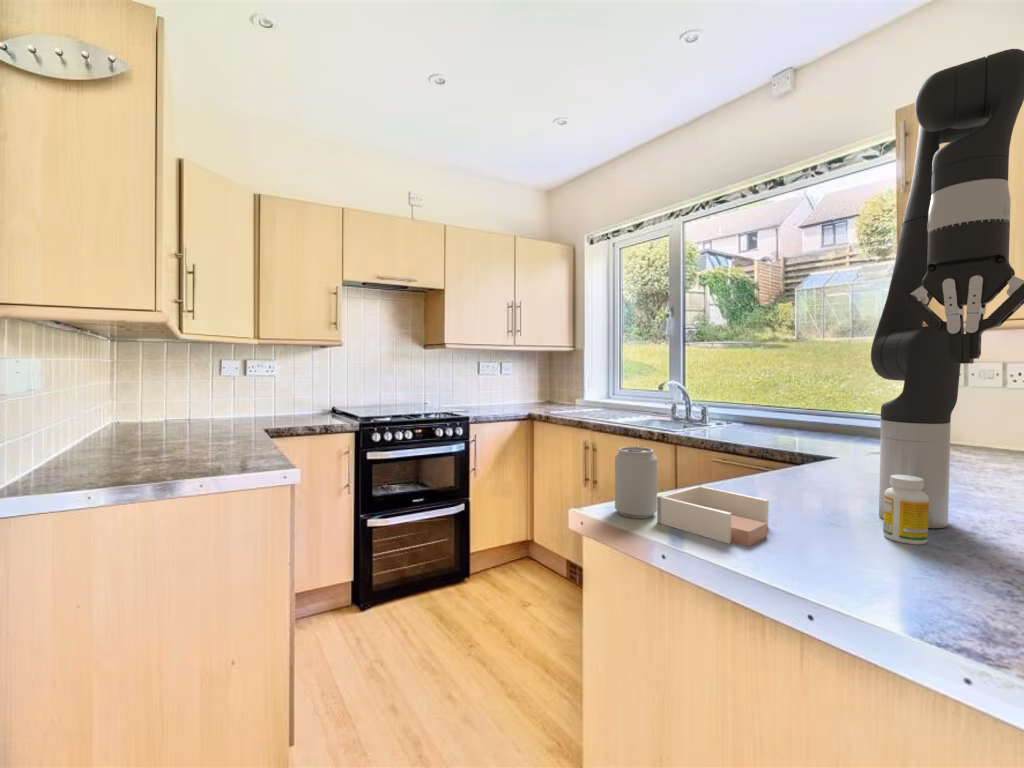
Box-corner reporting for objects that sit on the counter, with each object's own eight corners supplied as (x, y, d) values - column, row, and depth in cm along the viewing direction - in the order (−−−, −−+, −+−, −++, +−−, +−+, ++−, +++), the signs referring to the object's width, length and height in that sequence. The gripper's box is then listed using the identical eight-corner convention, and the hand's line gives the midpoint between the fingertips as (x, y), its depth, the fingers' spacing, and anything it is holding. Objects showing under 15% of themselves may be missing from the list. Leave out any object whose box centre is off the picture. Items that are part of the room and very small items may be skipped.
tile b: (729, 529, 81) (729, 514, 81) (766, 539, 76) (767, 523, 76) (710, 537, 77) (710, 522, 77) (748, 548, 73) (748, 531, 72)
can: (652, 508, 92) (653, 445, 92) (660, 520, 85) (661, 452, 84) (612, 507, 93) (612, 444, 93) (617, 519, 85) (617, 451, 85)
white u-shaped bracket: (698, 509, 91) (698, 485, 91) (768, 526, 81) (768, 500, 81) (657, 522, 84) (657, 496, 83) (728, 543, 73) (728, 514, 73)
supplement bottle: (875, 536, 76) (876, 475, 76) (894, 531, 79) (895, 472, 78) (916, 547, 71) (917, 482, 71) (935, 541, 74) (936, 479, 73)
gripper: (1049, 217, 58) (1045, 363, 59) (910, 241, 69) (907, 364, 69) (1040, 205, 53) (1035, 362, 54) (893, 232, 64) (890, 364, 65)
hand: (963, 363), depth 62 cm, fingers closed
